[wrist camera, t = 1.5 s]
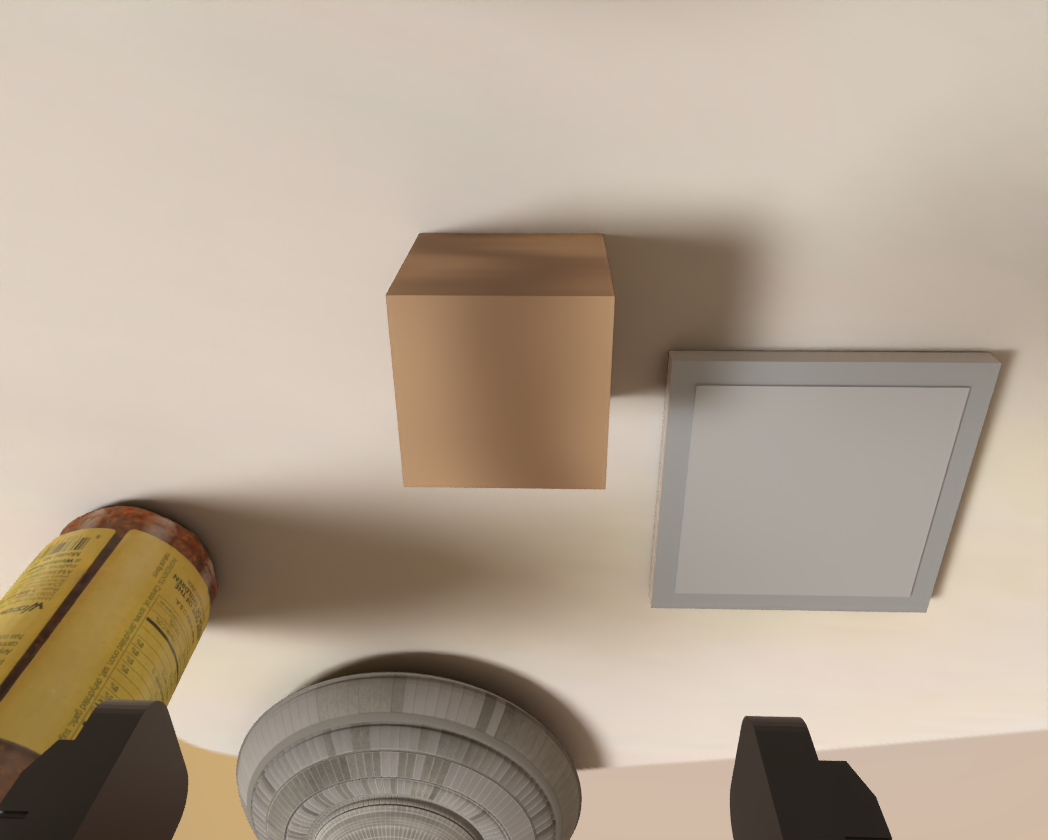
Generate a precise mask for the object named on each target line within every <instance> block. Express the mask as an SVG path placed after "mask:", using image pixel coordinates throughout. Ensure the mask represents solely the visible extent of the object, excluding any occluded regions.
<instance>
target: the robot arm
mask: <svg viewBox="0 0 1048 840" xmlns="http://www.w3.org/2000/svg"><path fill="white" fill-rule="evenodd" d="M187 792H188V774H187V769H186V766H185V762H184V759H183V756H182V753H181V750H180V747H179V743H178V740H177V737H176V734H175V731H174V728H173V724H172V721H171V718H170V715H169V712H168V709H167V707H166V705H165V704H164V703H163V702H162V701H152V700H105V701H103V702H101V703H100V704H99V705H98V706H97V707H96V708H95V709H94V711H93V712H92V713H91V715H90V716H89V718H88V720H87V721H86V723H85V724H84V726H83V727H82V729H81V731H80V732H79V734H78V735H77V737H76V739H75V740H58V741H56V742H55V743H54V744H53V745H52V746H51V747H50V748H48V749H47V750H46V751H45V752H44V753H43V754H42V755H40V756H39V757H38V758H37V759H36V760H35V761H34V762H33V763H31V764H30V765H29V766H28V767H27V768H26V769H25V770H23V771H22V772H21V774H20V775H19V777H18V778H17V780H16V781H15V783H14V784H13V785H12V787H11V788H10V790H9V791H8V793H7V794H6V796H5V797H4V799H3V800H2V802H1V803H0V840H172V838H173V835H174V833H175V831H176V829H177V827H178V824H179V822H180V819H181V817H182V814H183V811H184V808H185V804H186V799H187ZM730 814H731V825H732V832H733V838H734V840H892V837H891V834H890V832H889V829H888V826H887V824H886V822H885V819H884V816H883V814H882V811H881V809H880V806H879V804H878V801H877V798H876V796H875V795H874V794H873V793H872V792H871V790H870V789H869V788H868V787H867V786H866V784H865V783H864V782H863V781H862V780H861V778H860V777H859V776H858V775H857V774H856V772H855V771H854V770H853V769H852V768H851V767H850V765H849V764H848V763H847V762H846V761H819V760H818V757H817V754H816V751H815V748H814V745H813V742H812V739H811V736H810V733H809V730H808V728H807V726H806V724H805V722H804V721H803V719H802V718H799V717H763V716H746V717H744V719H743V722H742V726H741V731H740V737H739V743H738V748H737V754H736V760H735V765H734V771H733V777H732V783H731V789H730Z"/></svg>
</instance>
